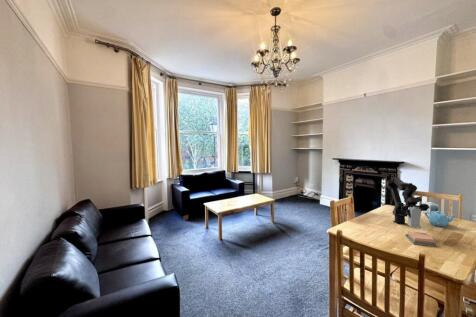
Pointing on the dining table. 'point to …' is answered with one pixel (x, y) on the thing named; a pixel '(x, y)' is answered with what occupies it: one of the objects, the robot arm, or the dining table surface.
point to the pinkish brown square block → (420, 239)
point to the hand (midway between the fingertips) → (415, 217)
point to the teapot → (438, 218)
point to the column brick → (414, 217)
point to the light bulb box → (431, 207)
